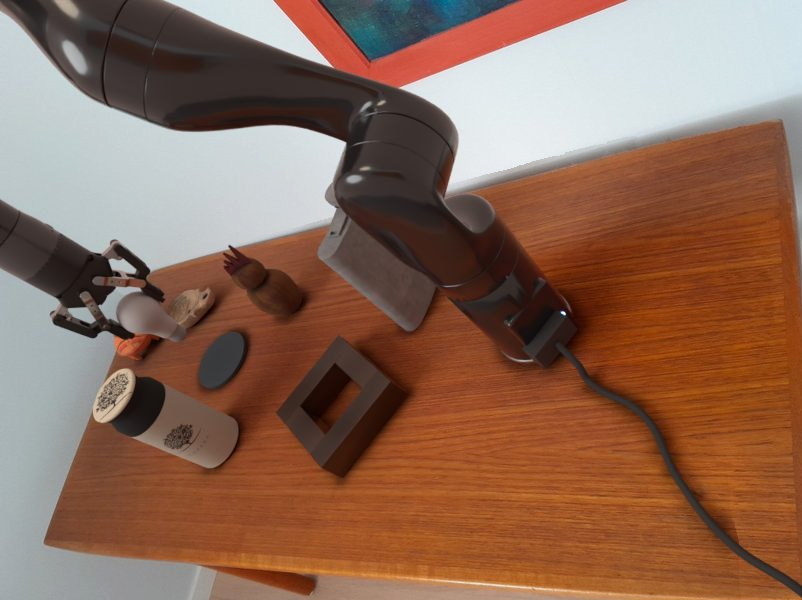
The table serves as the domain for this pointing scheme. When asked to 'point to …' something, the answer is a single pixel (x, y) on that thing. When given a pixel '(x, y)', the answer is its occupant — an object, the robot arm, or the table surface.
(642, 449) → the table surface
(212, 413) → the travel mug
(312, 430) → the bulb stand
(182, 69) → the robot arm
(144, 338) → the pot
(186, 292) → the oil lamp
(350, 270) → the hip flask
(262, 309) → the wooden figurine
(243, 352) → the coaster
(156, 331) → the lightbulb
